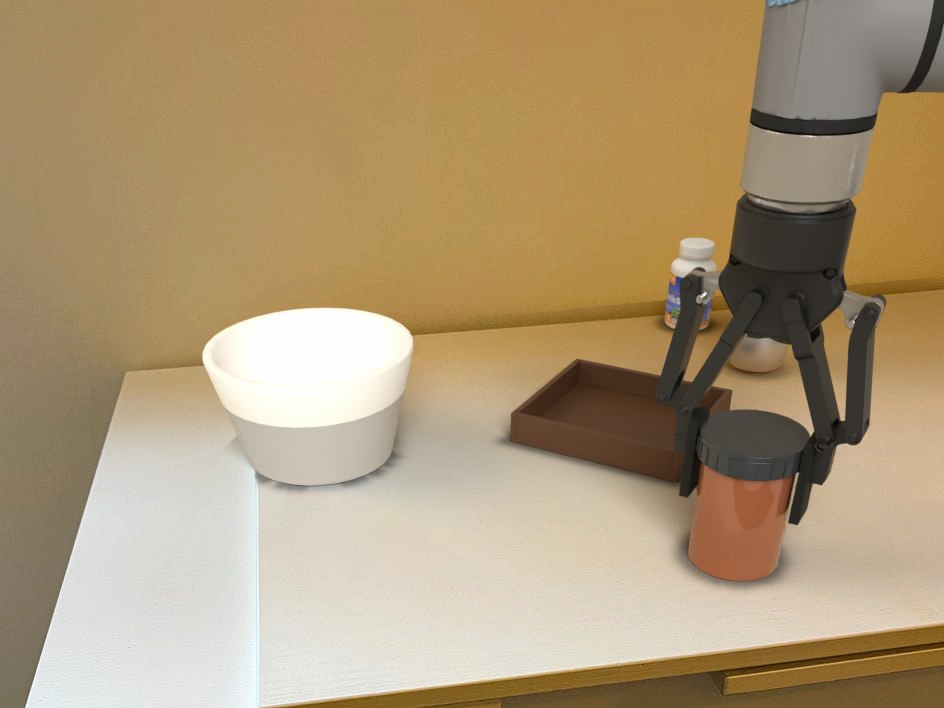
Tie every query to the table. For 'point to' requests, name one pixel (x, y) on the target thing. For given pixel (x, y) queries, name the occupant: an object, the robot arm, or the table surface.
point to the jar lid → (752, 444)
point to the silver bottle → (758, 354)
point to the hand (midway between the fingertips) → (742, 502)
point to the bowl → (312, 390)
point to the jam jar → (738, 525)
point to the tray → (607, 418)
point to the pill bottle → (691, 256)
